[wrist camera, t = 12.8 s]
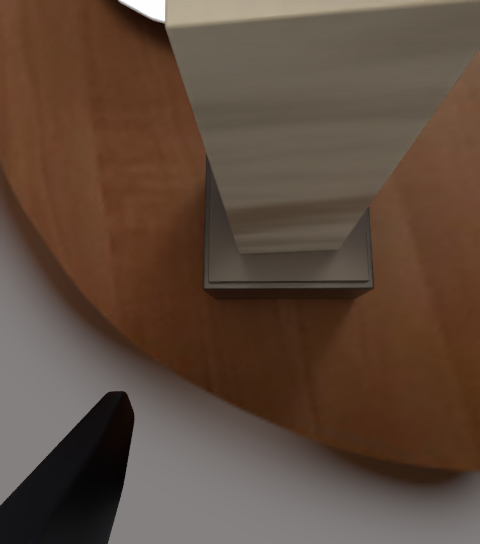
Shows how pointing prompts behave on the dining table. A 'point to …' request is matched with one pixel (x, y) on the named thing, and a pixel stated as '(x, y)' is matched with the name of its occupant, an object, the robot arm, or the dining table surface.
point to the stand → (281, 262)
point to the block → (313, 103)
